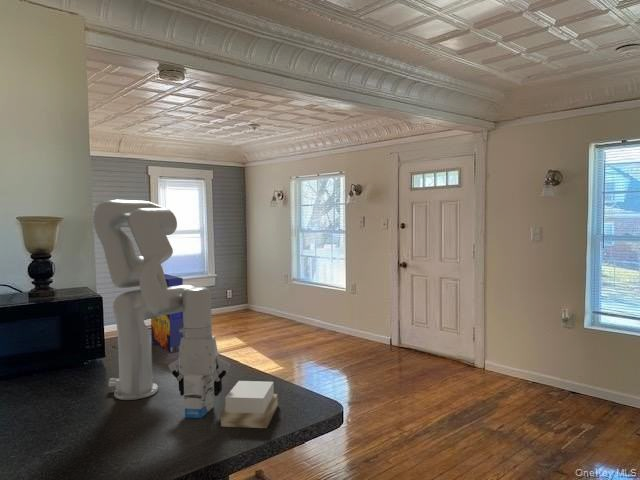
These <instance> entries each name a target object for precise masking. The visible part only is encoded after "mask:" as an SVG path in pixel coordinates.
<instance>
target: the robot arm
mask: <svg viewBox="0 0 640 480" xmlns="http://www.w3.org/2000/svg"><path fill="white" fill-rule="evenodd" d="M92 217H93V218H92V219H93V221H92V222H93V227H94V231H95V233H96V235H97V238H98V240H99V241H100V243H101V246H102V249H103V252H104V257H105V260H106V264H107V267H108V272H109V276H110V279H111V282H112V284H113V285H114V287H116V288H119V289H129V288H134V287H139V289H136V290H129V291H126V292H123V293H120V294H119V295H118V296H116V298H115V299H114V301H113V304H112V309H113V314H114V318H115V323H116V324H115V325H116V329H117V331H116V332H117V347H118V348H117V349H118V352H117V353H118V373H119V374H118V378H116V377H115V378H114V377H111V378H109V379H108V387H109V388H110V387H115V390H114V392H113V396H114V398H115V399H118V400H121V401H133V400H139V399H144V398H148V397H150V396H152V395H153V396H154V395H155V394H156V393H157V392H158V390H159V385H158V384H157V383H154V382H153V353H152V351H153V349H152V336H151V330H150V329H149V327H148V326H147V324H145V321H147V320H151V318H156V317H160V316H164V315H169V314H173V313H178V312H183V323H184V324H183V325H184V327H183V328H180V329H179V333H182V334H183V336H184V337H183V338H181V342H180V349H179V351H178V359H176V360H174V361H172V362H171V363H169V364H168V368H169V370H170V372H171V374H172V376H174V378H175V379H176V381H177V382H178V392H179V393H180V396H184V375H185V374H198V375H202V376H210V375H212V377H213V396H214V397H218V396H219V395H220V393H221V392H222V390H223V384H222V383H223V382H222V381H223V380H222V379H223V378H224V377H225V376H226V374H228V372H229V369H230V367H231V363H230V362H228V361H226V360H225V359H223V358H220V356H219V352H218V345H217V342H216V336H215V335H213V322H212V300H211V299H212V296H211V295H212V294H211V290H210V288H208V287H205V286H195V285H190V284H183V285H178V286H171V287H167V283H166V279H165V276H164V274H165V272H164V269H163V266H162V264H164V263H165V262H166V261H168V260H169V259H170V258H171V257H172V255H173V254H174V249H173V247H172V245H171V243H170V241H169V239H168V237H167V236H171V235H173V234H174V233H175V232H176V230H177V227H178V219H177V217H176V216H175V214H174V213H173V211H171V210H170V209H169V208H167V207H164V206H161V205H159V204H156V203H154V202H151V201H146V200H135V199H133V200H132V199H130V200H129V199H109V200H105V201H102V202H100V203H99V204H97V205H96V207H95V209H94V212H93V216H92ZM121 228H129V229H130V231H131V234H132V237H133V238H134V241H135V243H136V245H137V247H138V250H139V252H140V254H141V255H139V256H138V255H137V254H136V252H135V249H134V243H133V242H132V240H131V238H130V237H129V235H127V234H126V232H124V231H123V230H122V229H121ZM177 366H178V368H177ZM219 366H221V367H223V369H222V371H220V368H219Z"/></svg>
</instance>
